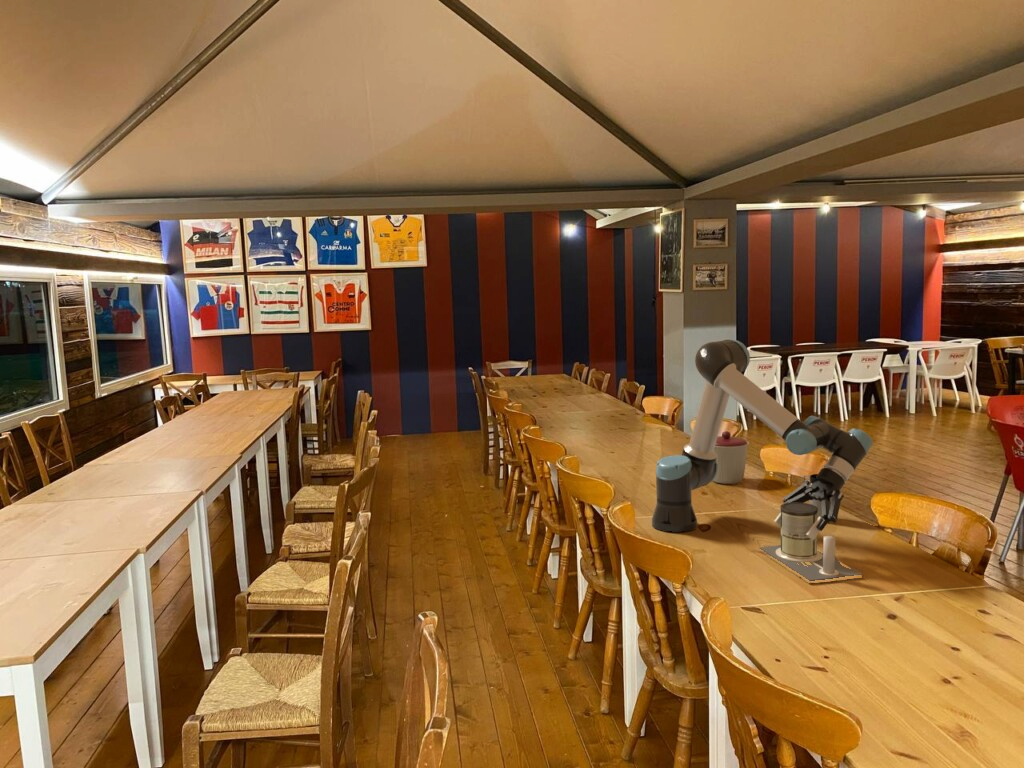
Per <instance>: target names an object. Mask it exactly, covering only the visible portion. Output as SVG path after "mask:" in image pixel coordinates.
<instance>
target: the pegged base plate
mask: <svg viewBox="0 0 1024 768" xmlns="http://www.w3.org/2000/svg"><path fill="white" fill-rule="evenodd" d="M822 539H823V540H822V541H823V542H822V543H823V546H822V547H823V550H822V551H823V553H821V552H819V551H817V556H816V557H814V558H810V559H795V558H790V557H787V556H784V555H783V554H782V553H781V552H780V551H781V544H780V545H777V544H776V545H769V546H768V545H767V546H760V547H759V549H761V550H763V551H764V552H766V553H767V554H769V555H770V556H772V557H773V558H775V559H777V560H778V561H780V562H782V563H783V564H785V565H786V566H788V567H789V568H791V569H792V570H794V571H796V572H797V573H799V574H800V575H802V576H803V577H805V578H806V579H808V580H809V581H815V580H825V579H833V578H839V577H845V576H854V575H862V574H863V573H862V572H861V571H858V570H857V569H855V568H853V567H851V566H850V568H851V569H849V568H846V567H844V566H842V565H841V564H840V562H839V561H840V559H837V558H836V537H835V536H832V535H823V538H822ZM759 549H758V550H759ZM801 562H803V563H804V564H805V565H807V564H806V563H805V562H810V563H811V564H812V565H807V566H808V567H807V566H804V565H803V564H802V563H801ZM797 563H798V564H799V565H798V564H797Z"/></svg>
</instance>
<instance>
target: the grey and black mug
mask: <svg viewBox="0 0 1024 768" xmlns="http://www.w3.org/2000/svg"><path fill="white" fill-rule="evenodd" d="M817 474H818V473H814V474H811V475H809V474H805V475H803V477H802V484H803V483H804V482H805V481H806V477H807V478H808V480H809V482H810V483H812V484H813V483H814V482H815V481H816V476H817ZM809 494H810V493H809ZM831 501H832V497H831V498H830V502H831ZM807 502H808V504H811V505H814V506H816V507H817V508H818V511H817V518H818V517H821V516H822V505H821V502H820V501H819V500H814V499H813V500H808V501H807ZM830 505H831V504H830ZM821 518H822V517H821Z"/></svg>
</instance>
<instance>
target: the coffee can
mask: <svg viewBox="0 0 1024 768" xmlns="http://www.w3.org/2000/svg"><path fill="white" fill-rule="evenodd" d="M779 507H780V511H781V527H780V545H781V551H780V552H781V553H782V554H783V555H784V556H787V557H790V558H795V559H810V558H814V557H816V556H817V548H818V535H817V536H816V537H815V539H814V540H811V539H810V538H809V537H808V536H807V535H806V534H807V532H808V531H809V529H810V528H811V527H812V525H813V524H814V523H815V521H816V520H817V511H818V508H817V507H816V506H814V505H811V504H809V503H807V502H804V503H799V502H791V503H782V504H781V505H780V506H779Z"/></svg>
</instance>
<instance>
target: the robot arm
mask: <svg viewBox="0 0 1024 768" xmlns="http://www.w3.org/2000/svg"><path fill="white" fill-rule="evenodd" d="M694 357H695V358H694V363H695V368H696V370H697V372H698V373H699V374H700V376H702V378H704V380H705V386H704V390H703V392H702V396H701V400H700V404H699V408H698V411H697V413H696V414H697V415H696V418H695V421H694V426H693V429H692V433H691V436H690V439H689V440H690V441H689V443H687V444H685V445H684V446H683V449H682V451H681V454H673V455H667V456H664V457H662V458H660V459H659V460H657V462H656V470H655V478H656V481H655V482H656V483H655V484H656V505H655V508H654V510H653V514H652V517H651V526H652V527H653V528H654V529H655V530H659V531H661V530H662V531H661V532H666V531H672V532H671V533H683V532H682V531H686V532H690V531H689V530H691V531H693V530H692V529H694V528H695V529H697V528H698V519H697V515H696V512H695V510H694V507H693V504H692V491H693V490H696V489H699V488H701V487H705V486H707V485H709V484H710V483H711V482H714V481H713V480H714V478H715V477H716V475H717V472H718V464H717V463H716V457H717V455H716V453H715V451H714V448H715V444H716V441H717V437H719V433H720V431H721V426H722V423H723V420H724V416H725V413H726V408H727V405H728V401H729V398H730V397H732V398H733V399H734V400H735V401H736V402H737V403H739V404H740V405H741V406H743V408H745V409H746V410H747V411H748V412H750V414H752V415H754V417H756V418H757V419H758V420H760V421H761V422H762V423H764V425H766V426H767V427H768V428H769V429H770V430H772V432H774V433H775V434H776V435H778V436H779V437H780V438H781V439H782V440H784V441H785V446H786V448H787V450H788V451H789V452H790V453H792V454H793V455H796V456H802V455H803V456H804V455H809V454H811V453H813V452H814V451H815V450H819V449H821V448H822V449H825V450H826V451H827V452H829V453H832V454H831V456H830V457H829V458H828V460H827V461H826V462H825V464H823V467H822V468H821V469H820V471H818V473H816V474H817V476H816V481H815V482H814V483H813V484H812V483H810V480H809V479H805V482H804V483H803V482H802V484H801V485H800V486H799V487H797V488H796V489H794V490H793V491H791V492H790V493H788V494H787V495H786V496H784V497H783V498H782V499H781V501H782V502H783V504H785V503H791V502H799V503H807V502H809V501H808V500H813V499H814V500H819V501H820V502H821V505H822V516H821V517H822V518H821V517H818V519H817V520H816V521H815V523H814V524H813V525H812V527H811V528H810V529H809V531H808V532H807V534H806V535H807V536H808V537H809V538H810V539H811V540H814V539H815V537H816V536H817V537H818V534H820V532H821V531H823V530H824V528H825V527H826V526H827V525H828V524H830V523H829V522H832V523H833V524H834V523H837V521H838V515H839V512H840V507H841V502H842V500H843V498H844V494H843V493H842V492H841V489H842V488H843V487H844V485H845V482H847V481H848V479H849V478H850V477H851V475H852V474H853V473H854V472H855V470H856V468H857V467H858V466H859V465H860V463H861V462H862V461H863V459H864V458H865V457H866V456H867V455H868V452H869V450H870V449H871V447H872V446H873V443H874V442H873V439H872V437H871V436H870V435H869V434H868V433H866V432H865V431H863V430H861V429H858V428H854V427H853V428H851V429H850V430H848V431H845V430H842V429H840V428H838V427H837V426H835V425H833V424H832V423H830V422H827V421H825V419H824V418H823V419H822V418H819V417H817V416H815V415H810V416H808V417H807V418H805V420H804V421H802V420H800V418H798V417H797V416H796V415H794V414H793V413H792V412H790V411H789V410H788V409H787V408H785V407H784V405H782V404H780V402H778V401H777V400H776V399H775V398H773V397H772V396H771V395H770V394H768V393H767V392H765V391H764V390H763V389H761V388H760V386H758V385H756V383H754V382H753V381H751V380H750V379H749V378H748V377H746V375H745V374H743V372H745V371H746V369H748V367H749V364H750V362H751V358H750V357H751V356H750V352H749V350H748V348H747V346H746V345H745V344H744V343H743V342H741V341H739V340H737V339H724V340H719V341H718V340H717V341H710V342H707V343H705V344H703V345H701V346H700V347H699V349H698V350H697V351H696V354H695V356H694ZM809 493H810V494H809ZM831 497H832V501H831V502H830V498H831ZM830 504H831V505H830ZM773 522H774V523H775V525H777V526H778V527H780V528H781V510H779V513H778V515H777V516H776V518H775V519H774V520H773ZM695 529H694V530H695Z"/></svg>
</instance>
